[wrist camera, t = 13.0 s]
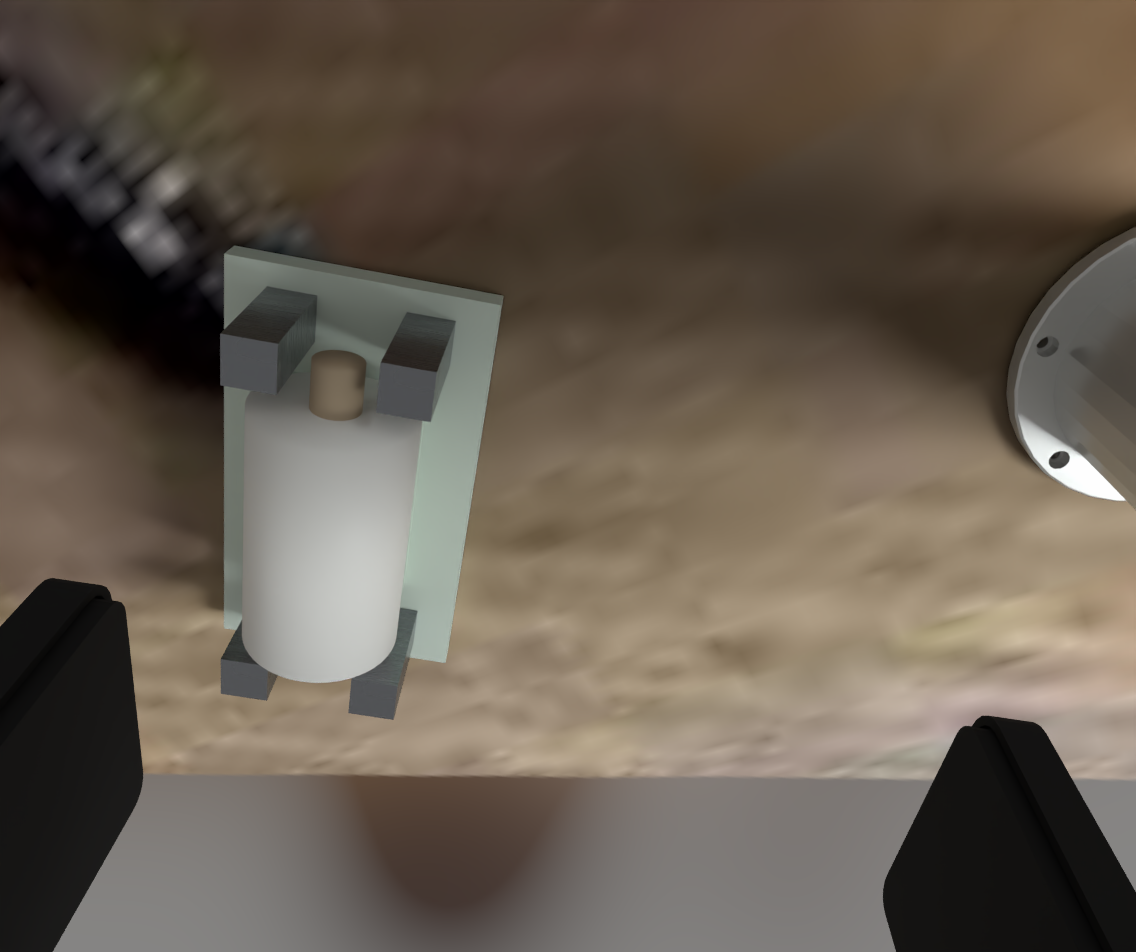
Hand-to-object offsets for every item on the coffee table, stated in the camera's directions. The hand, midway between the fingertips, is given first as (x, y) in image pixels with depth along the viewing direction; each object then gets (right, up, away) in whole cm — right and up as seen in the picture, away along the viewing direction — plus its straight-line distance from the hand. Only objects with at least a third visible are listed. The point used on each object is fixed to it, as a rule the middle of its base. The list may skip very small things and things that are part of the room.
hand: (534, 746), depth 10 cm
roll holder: (-9, +3, +32) cm, 33 cm away
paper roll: (-9, +3, +30) cm, 32 cm away
